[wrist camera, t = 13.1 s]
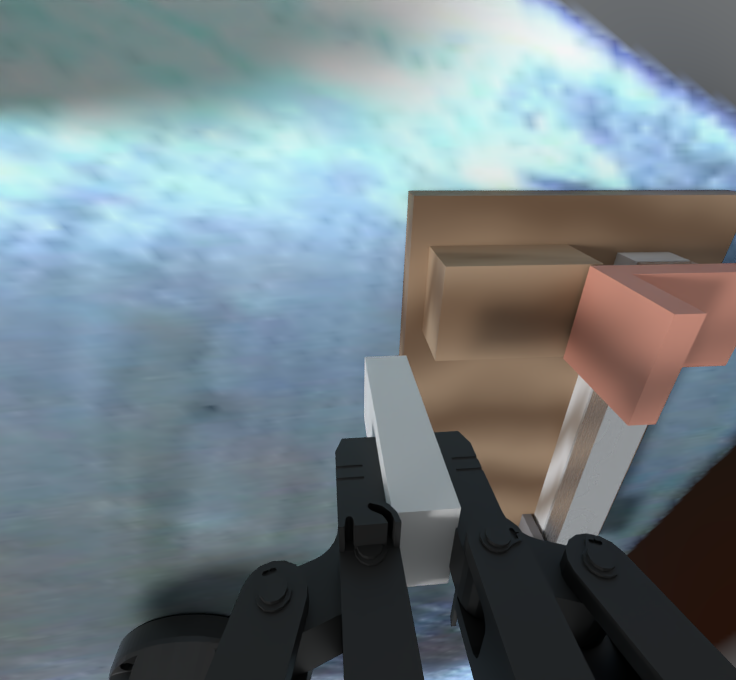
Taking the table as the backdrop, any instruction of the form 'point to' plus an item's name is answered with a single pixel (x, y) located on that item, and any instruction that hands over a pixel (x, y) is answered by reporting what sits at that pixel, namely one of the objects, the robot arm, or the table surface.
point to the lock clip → (650, 331)
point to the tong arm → (594, 469)
